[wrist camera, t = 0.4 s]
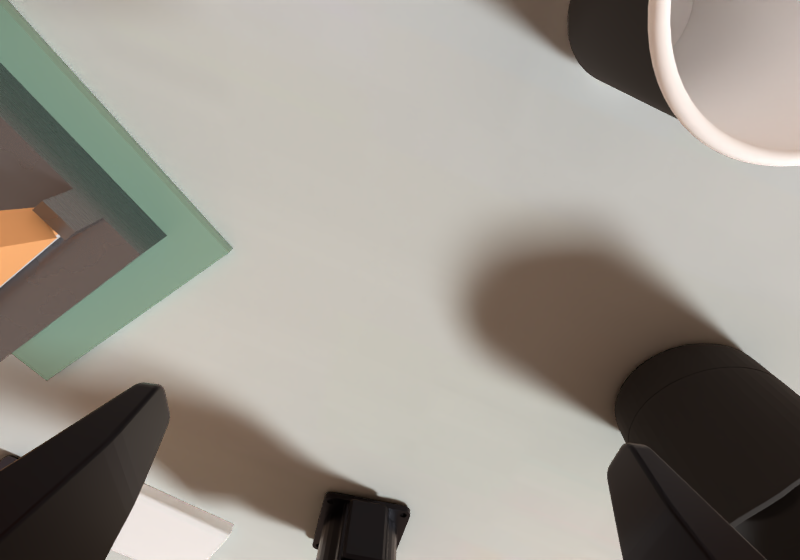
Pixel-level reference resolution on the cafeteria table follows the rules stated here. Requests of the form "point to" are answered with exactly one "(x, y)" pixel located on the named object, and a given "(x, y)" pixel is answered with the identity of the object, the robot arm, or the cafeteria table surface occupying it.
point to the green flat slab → (137, 175)
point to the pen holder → (723, 437)
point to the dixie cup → (703, 67)
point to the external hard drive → (169, 529)
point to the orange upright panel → (21, 240)
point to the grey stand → (60, 217)
